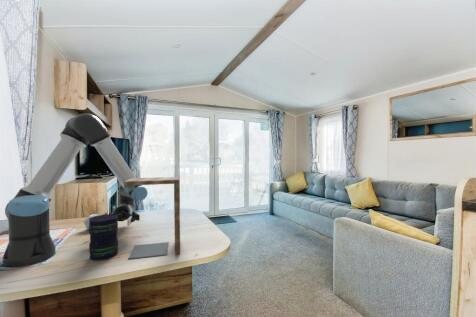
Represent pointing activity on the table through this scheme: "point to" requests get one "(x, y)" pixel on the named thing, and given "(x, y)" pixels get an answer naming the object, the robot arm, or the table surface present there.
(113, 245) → the rusty oil drum
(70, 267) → the table surface
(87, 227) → the die
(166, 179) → the wooden gallows frame
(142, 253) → the pad
